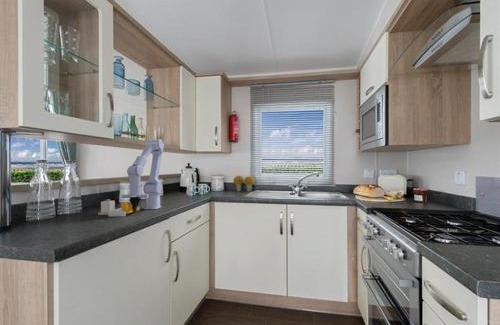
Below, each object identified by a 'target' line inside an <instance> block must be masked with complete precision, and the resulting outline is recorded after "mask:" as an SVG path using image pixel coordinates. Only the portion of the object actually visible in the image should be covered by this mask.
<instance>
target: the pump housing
mask: <svg viewBox="0 0 500 325" xmlns="http://www.w3.org/2000/svg"><path fill="white" fill-rule="evenodd" d="M115 206H116V201H115V200H111V199H110V198H107V199H105V200H103V201H100V212H97V216H102V215H103V216H104V215H106V216H107V215H108V212H110V211H113V210H116V207H115Z"/></svg>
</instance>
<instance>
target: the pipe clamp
mask: <svg viewBox="0 0 500 325" xmlns="http://www.w3.org/2000/svg"><path fill="white" fill-rule="evenodd" d="M120 205H121V207H120V208H122V210H123V211H126V215H128V214H131V213H134V212H135V211H134V210H133V207H132V204H131V202H130V201H129V203H128V201H124V202H121V203H120ZM137 210H138V207H137Z"/></svg>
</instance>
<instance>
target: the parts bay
mask: <svg viewBox="0 0 500 325" xmlns="http://www.w3.org/2000/svg"><path fill="white" fill-rule="evenodd" d="M137 207H138V210H136V211H135V212H139V211H140V208H141V207H140V205H138V206H137ZM126 216H127V214H126V211H123V210H122V207H119V208H115V210H113V211H110V212H108V217H111V218H112V217H126Z"/></svg>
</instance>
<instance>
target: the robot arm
mask: <svg viewBox="0 0 500 325" xmlns="http://www.w3.org/2000/svg"><path fill="white" fill-rule="evenodd" d="M164 147H165V144H164V140H162V139H160V138H159V139H146V141H145V143H144V149H143V151H142V152H141V155H138V156H137V157H136V159H135V160H134V162H133V163H132V165H130V166H129V167H128V168H127V170H126V173H127V176H128V177H127V178H128V179H129V186H128V187H129V193H128V194H121V199H128V200H129V203H130V202H131V204H132V207H133V210H134V212H137V211H136V210H137V206H139V203H140V201H141V199H145V201H146V203H145V204H146V207H145V208H143V210H158V209H160V208H162V205H161V196H160V193H161V192H162V188H163V187H162V182H161V181H160V180H159V174H160V170H161V169H160V168H161V161H162V158H163V157H162V156H163V152H164V149H165V148H164ZM150 154H152V159H151V160H152V161H151V165H150V173H149V178H148V179H147V180H145V182H144V185H143V188H142V189H141V182H142V181H141V176H142V175H143V173H144V167H145V165H146V163H147V162H148V159H147V158H148V157H149V155H150ZM141 190H143V193H141Z"/></svg>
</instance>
